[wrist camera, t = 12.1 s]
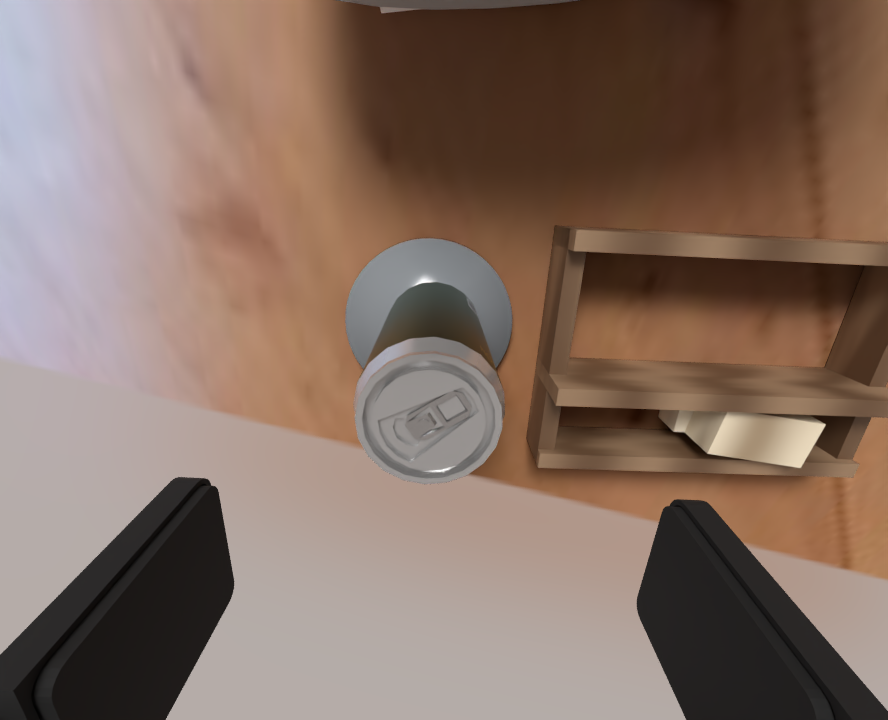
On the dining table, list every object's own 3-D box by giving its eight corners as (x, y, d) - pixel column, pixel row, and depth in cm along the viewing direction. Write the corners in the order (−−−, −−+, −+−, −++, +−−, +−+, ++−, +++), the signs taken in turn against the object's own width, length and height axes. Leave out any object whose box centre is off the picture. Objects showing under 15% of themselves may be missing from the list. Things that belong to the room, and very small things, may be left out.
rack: (891, 242, 25) (997, 251, 20) (807, 447, 30) (876, 493, 25) (554, 225, 24) (583, 231, 19) (526, 437, 29) (543, 483, 24)
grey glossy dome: (518, 241, 24) (521, 243, 24) (501, 397, 28) (503, 402, 27) (345, 233, 24) (342, 234, 23) (350, 392, 28) (348, 397, 27)
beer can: (448, 261, 24) (457, 314, 13) (494, 338, 26) (537, 445, 14) (370, 310, 25) (314, 399, 14) (419, 381, 26) (406, 512, 15)
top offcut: (792, 405, 26) (825, 424, 24) (770, 445, 27) (800, 467, 25) (703, 390, 26) (728, 408, 23) (684, 432, 27) (707, 453, 24)
